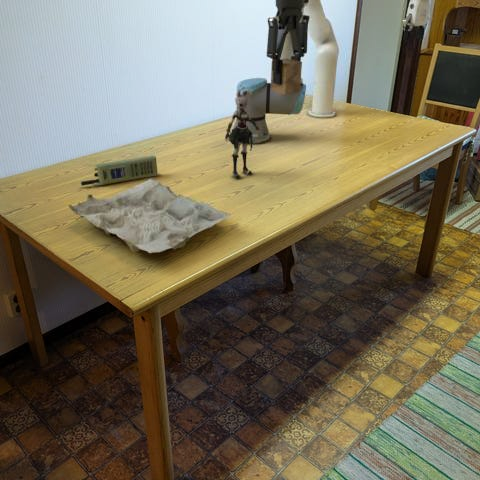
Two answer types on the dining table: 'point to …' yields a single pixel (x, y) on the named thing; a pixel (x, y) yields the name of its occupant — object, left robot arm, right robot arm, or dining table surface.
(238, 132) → the figurine
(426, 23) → the right robot arm
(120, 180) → the handheld radio
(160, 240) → the grey bumpy flat piece
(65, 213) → the dining table surface
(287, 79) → the block
